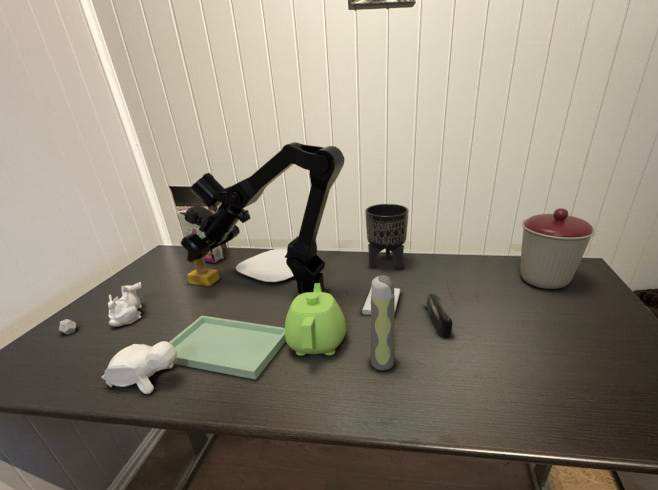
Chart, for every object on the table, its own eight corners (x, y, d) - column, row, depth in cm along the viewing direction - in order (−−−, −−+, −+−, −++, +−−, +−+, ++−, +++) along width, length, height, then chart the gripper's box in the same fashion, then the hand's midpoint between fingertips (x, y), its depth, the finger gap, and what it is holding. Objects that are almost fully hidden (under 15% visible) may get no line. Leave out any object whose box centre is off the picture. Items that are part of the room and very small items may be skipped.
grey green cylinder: (371, 356, 80) (369, 272, 70) (393, 356, 80) (395, 272, 70) (370, 371, 76) (368, 284, 66) (394, 371, 76) (396, 284, 65)
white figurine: (138, 304, 101) (125, 272, 96) (162, 307, 100) (151, 274, 95) (103, 329, 91) (87, 294, 86) (130, 332, 90) (115, 297, 85)
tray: (290, 335, 87) (289, 328, 86) (255, 379, 75) (254, 371, 74) (204, 322, 93) (201, 315, 92) (158, 361, 80) (155, 353, 79)
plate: (279, 250, 133) (278, 245, 132) (325, 264, 122) (325, 259, 121) (228, 272, 118) (226, 267, 117) (275, 290, 107) (274, 284, 106)
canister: (591, 284, 106) (615, 210, 95) (553, 303, 98) (575, 224, 87) (535, 263, 119) (551, 196, 108) (497, 278, 111) (510, 207, 100)
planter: (369, 255, 127) (368, 203, 117) (407, 257, 125) (409, 204, 116) (363, 272, 116) (362, 215, 107) (405, 274, 114) (407, 216, 105)
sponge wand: (219, 279, 114) (208, 234, 106) (209, 286, 110) (197, 241, 102) (200, 276, 115) (187, 233, 108) (189, 283, 111) (175, 239, 104)
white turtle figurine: (117, 403, 74) (175, 386, 70) (85, 372, 70) (145, 352, 66) (143, 374, 81) (197, 357, 77) (116, 344, 77) (172, 325, 73)
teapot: (295, 319, 93) (289, 273, 87) (349, 318, 93) (346, 273, 87) (278, 372, 76) (268, 320, 70) (343, 371, 76) (340, 320, 70)
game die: (57, 334, 90) (51, 324, 88) (72, 326, 93) (67, 316, 91) (67, 337, 89) (61, 327, 87) (82, 329, 91) (77, 319, 90)
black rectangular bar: (455, 320, 83) (434, 287, 95) (442, 321, 83) (423, 288, 95) (453, 338, 86) (432, 304, 98) (440, 339, 85) (421, 305, 98)
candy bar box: (225, 258, 127) (214, 210, 119) (215, 263, 123) (202, 214, 115) (199, 253, 131) (187, 207, 122) (189, 259, 127) (175, 211, 118)
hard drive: (400, 293, 104) (394, 317, 93) (371, 291, 105) (362, 314, 95) (400, 288, 103) (394, 311, 93) (371, 286, 104) (361, 308, 94)
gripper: (222, 188, 105) (198, 223, 114) (176, 206, 90) (153, 245, 99) (251, 217, 108) (226, 250, 116) (212, 240, 92) (186, 276, 101)
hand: (199, 254), depth 108 cm, fingers open, 9 cm apart
